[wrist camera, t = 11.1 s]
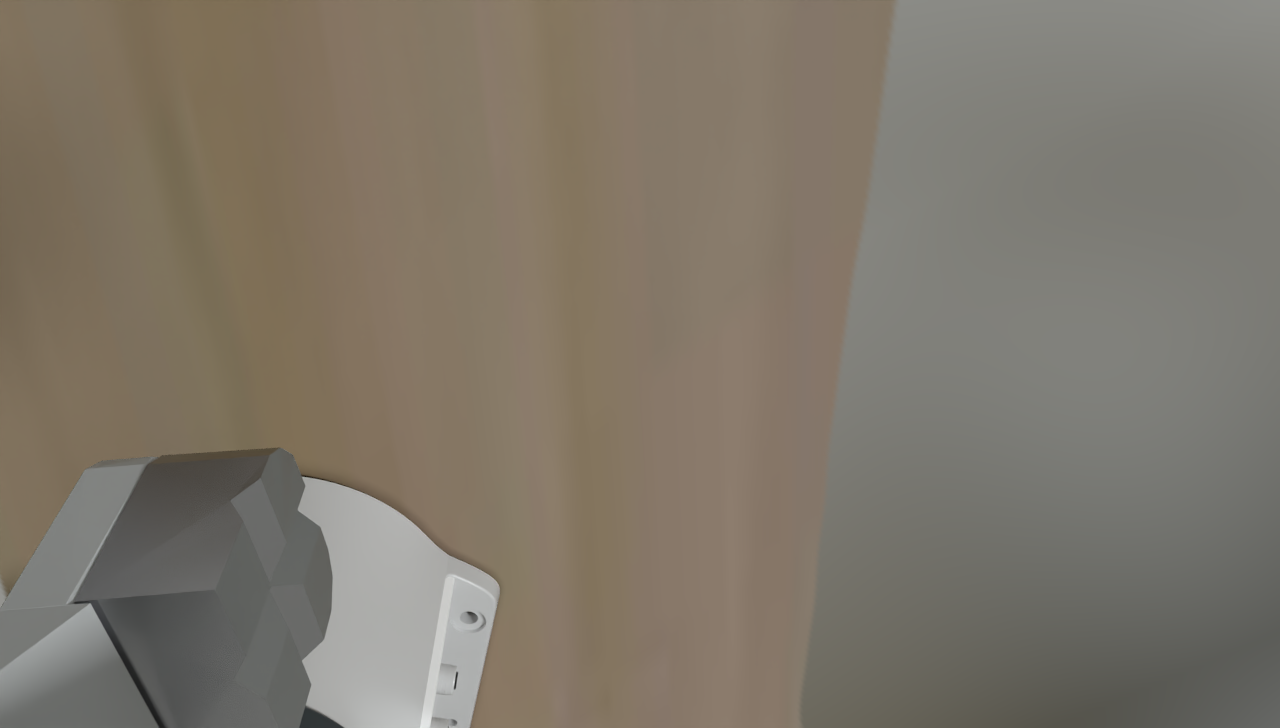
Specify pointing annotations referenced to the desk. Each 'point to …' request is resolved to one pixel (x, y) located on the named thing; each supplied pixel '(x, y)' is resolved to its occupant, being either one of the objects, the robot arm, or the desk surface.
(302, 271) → the desk surface
